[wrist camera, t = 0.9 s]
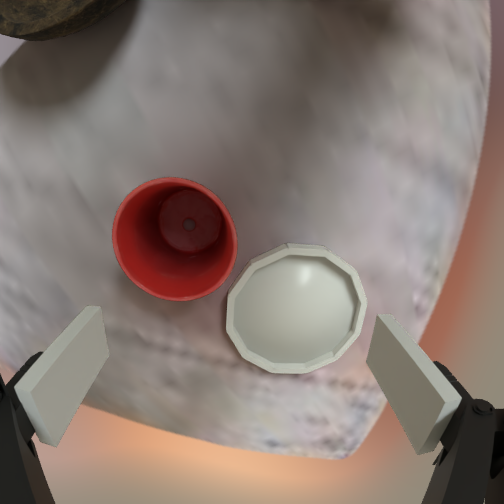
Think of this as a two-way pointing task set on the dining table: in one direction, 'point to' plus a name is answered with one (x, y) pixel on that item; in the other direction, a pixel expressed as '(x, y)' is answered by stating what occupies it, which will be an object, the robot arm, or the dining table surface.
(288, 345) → the saucer
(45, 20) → the bowl
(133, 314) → the dining table surface
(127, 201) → the flower pot
